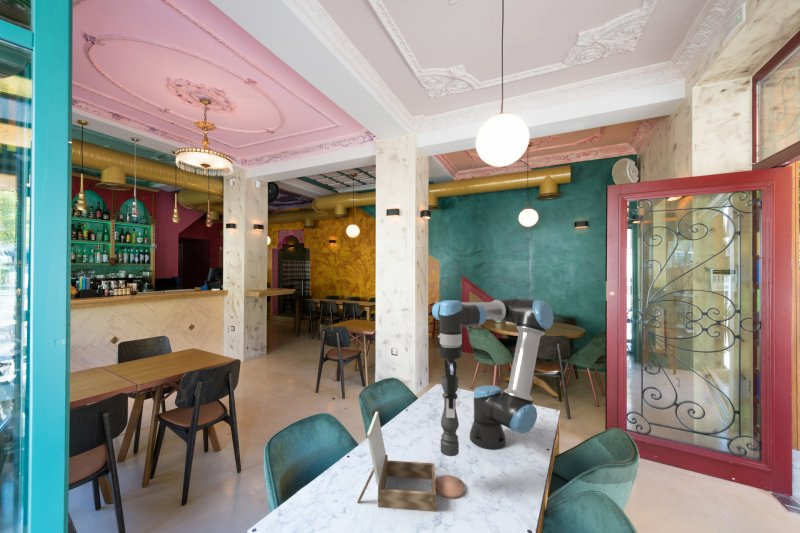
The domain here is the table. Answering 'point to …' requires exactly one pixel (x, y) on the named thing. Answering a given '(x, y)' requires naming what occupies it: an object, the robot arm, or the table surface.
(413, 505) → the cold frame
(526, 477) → the table surface
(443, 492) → the saucer
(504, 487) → the table surface
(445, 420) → the candle holder
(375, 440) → the frame lid
